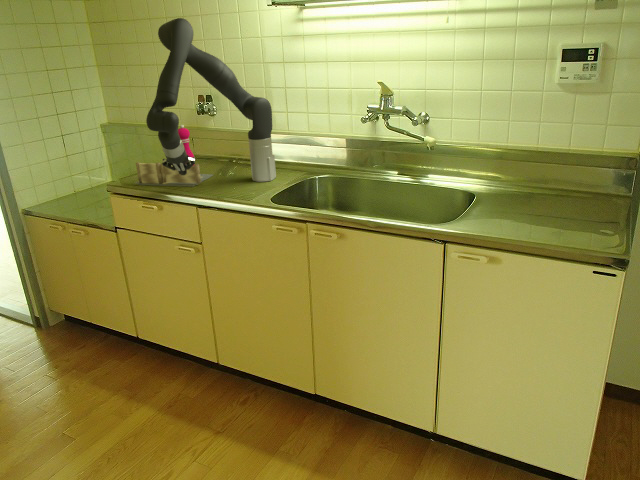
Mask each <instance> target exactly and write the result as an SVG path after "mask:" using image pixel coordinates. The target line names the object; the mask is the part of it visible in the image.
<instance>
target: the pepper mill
mask: <svg viewBox="0 0 640 480" xmlns="http://www.w3.org/2000/svg"><path fill="white" fill-rule="evenodd" d="M178 134H179V136H180V139H181V140H182V142H183V145H184V148H185V151H186V153H187V155H188V156H189V157H190V158H192V157H195V155H194V152H193V151H192V150H191V147H190V136H191V135H190V134H191V133H190V130H189V129H188V128H186V127H185V125H184V124H180V125H179V128H178ZM194 165H195V164H194ZM194 165H193V166H194Z"/></svg>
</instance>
